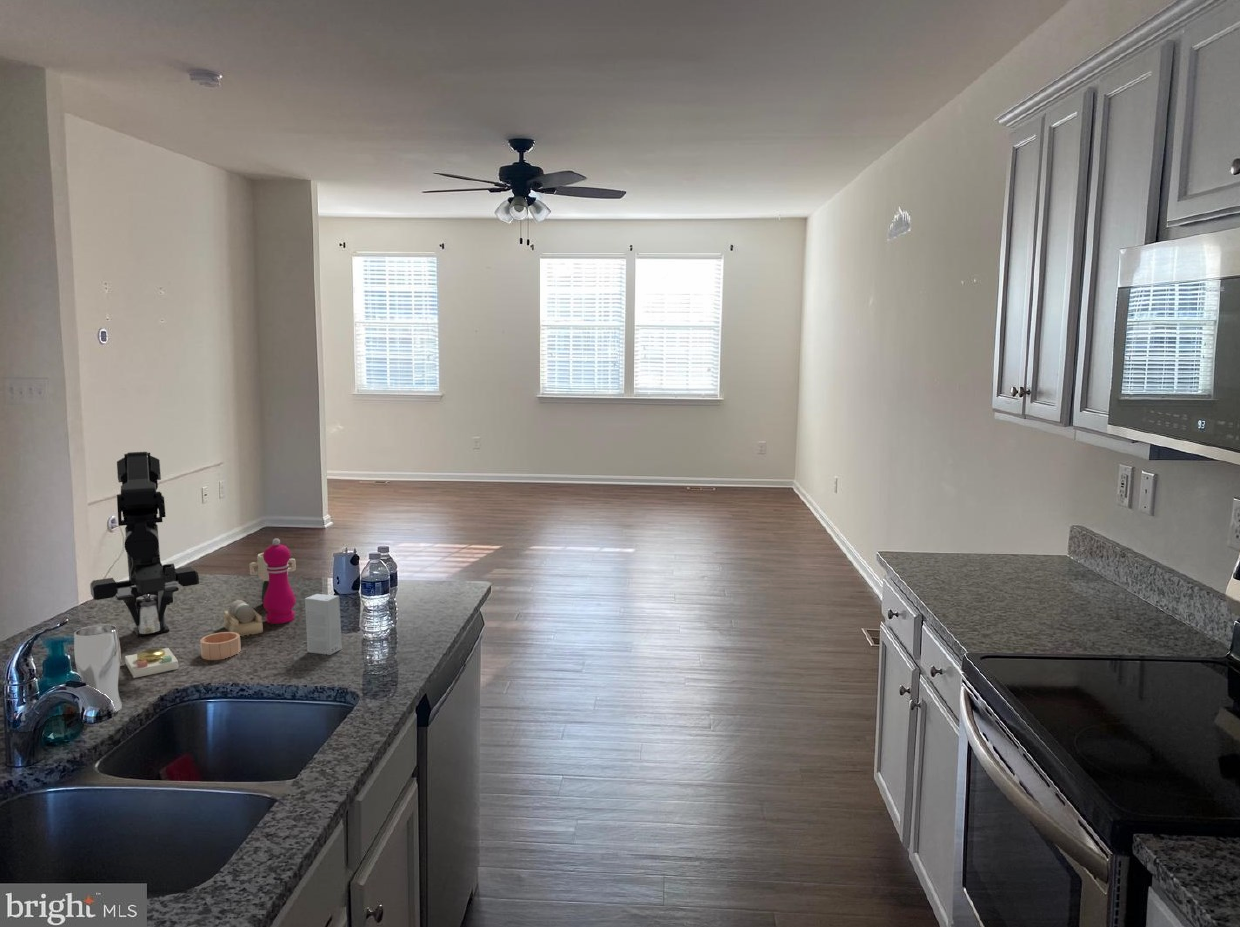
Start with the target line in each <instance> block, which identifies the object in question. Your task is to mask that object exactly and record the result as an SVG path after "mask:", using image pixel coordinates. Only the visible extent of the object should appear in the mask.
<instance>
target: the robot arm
mask: <svg viewBox="0 0 1240 927" xmlns="http://www.w3.org/2000/svg"><path fill="white" fill-rule="evenodd" d="M123 456H124V457H122V458H120V459H119V460H118V461H116V470H117V471H116V473H117V480H118V483H121V485H120V493H119V494H116V505H117V508H116V509H117V522H118V527H121V526H122V527H123V526H125V527H124V529H125V530H124V531H125V538H124V549H125V552H126V558H127V568H128V570H127V571H128V579H127V580H121V581H116V580H115V579H114V578H113V577H109V578H101V579H94V580H92V581H91V583H90V584H89V588H90V595H91V597H92V599H93V600H94V601H100V600H106V599H112V598H115V600H116V601H123V603H124V605H125V606H126V608H127V609H128V611H129V614H130V615H131V617H132V620H133V622H134V624H135V627H133V628H132V629H133V631H134V633H135V634H136V636H137V637H144V636H151V635H155V634H159V633H160V634H161V633H166V632H169V631H170V628H169V626H168V625H167V624H166V620H165V619H166V618H165V612H166V609H167V606H170V605H171V604H172V603H174V597H173V596H174V595H173V594H174V593H176V592H178V591H179V590H180V589H179V586H178V584H179V585H180V586H182V587H183V588H184V587H189V586H196V585H199V584H200V577H199V573H198V572H197V571H196V570H195V568H193V567H192V566H185V567H179V568H176V566H175V563H168V564H162V562H161V554H160V553H161V552H160V540H159V539H160V538H159V526H158V524H159V523H163V522H164V521H163V518H166V507H165V506H166V505H165V496H164V495H162V492H161V491H157V490H158V488H159V483H158V481H161V480H162V478H161V477H162V476H161V462H160V459H159V458H157V457H155V456H152V455H151V452H148V451H135V452H134V451H132V452H131V451H130V452H127V453H124V455H123ZM122 518H123V519H122ZM157 523H158V524H157ZM146 594H150V595H157V596H158V608H159V622H160V630H159V631H157V632H154V633H149V634H141V633H139V628H138V626H139V619H138V615H137V606H136V598H138V597H140V596H143V595H146Z"/></svg>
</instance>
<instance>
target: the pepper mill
mask: <svg viewBox="0 0 1240 927" xmlns="http://www.w3.org/2000/svg"><path fill="white" fill-rule="evenodd" d="M271 542H272V543H271V544H272V545H270V546H268V547H266V549H265V550H264V551H263V553H264V555H263V558H264V561H265V562H266V563H267V564H268V565H267V566H266V568H267V570H266V571H267V572H268V573H269V585H268V588H267V591H266V593H265V596H264V601H263V602H262V603H263V608H264V609H265V610H266V611H267V613H266V615H265V617H266V623H268V624H273V625H274V624H275V625H276V624H277V625H278V624H280V625H281V624H285V623H289V622H292V621H294V619H295V611H294V610H293V608H294V607H295V606H296V596H295V593H294V591H293V588H292V586H291V585H290V582H289V578H288V575H287V571H288V570H289V568H290V567H289V566H290V564H289V563H288V564H287V562H288V561H289V559H291V551H290V548H288V547H287V545H284V544H281V540H280V539H279V538H274V539H272V541H271Z"/></svg>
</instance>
